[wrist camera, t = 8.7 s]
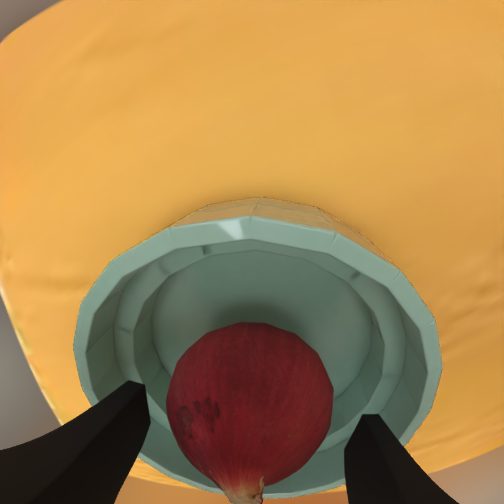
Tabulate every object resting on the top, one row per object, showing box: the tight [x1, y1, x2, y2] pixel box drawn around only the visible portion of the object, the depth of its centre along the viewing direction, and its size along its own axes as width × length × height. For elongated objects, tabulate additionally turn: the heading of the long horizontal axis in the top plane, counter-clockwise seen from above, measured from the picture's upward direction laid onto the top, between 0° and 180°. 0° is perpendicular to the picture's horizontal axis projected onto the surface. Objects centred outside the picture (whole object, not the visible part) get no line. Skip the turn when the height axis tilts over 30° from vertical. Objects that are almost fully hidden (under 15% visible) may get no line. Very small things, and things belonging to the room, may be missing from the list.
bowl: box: [73, 197, 442, 499], centre depth 11 cm, size 13×13×5 cm
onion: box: [166, 322, 334, 504], centre depth 9 cm, size 6×6×8 cm
